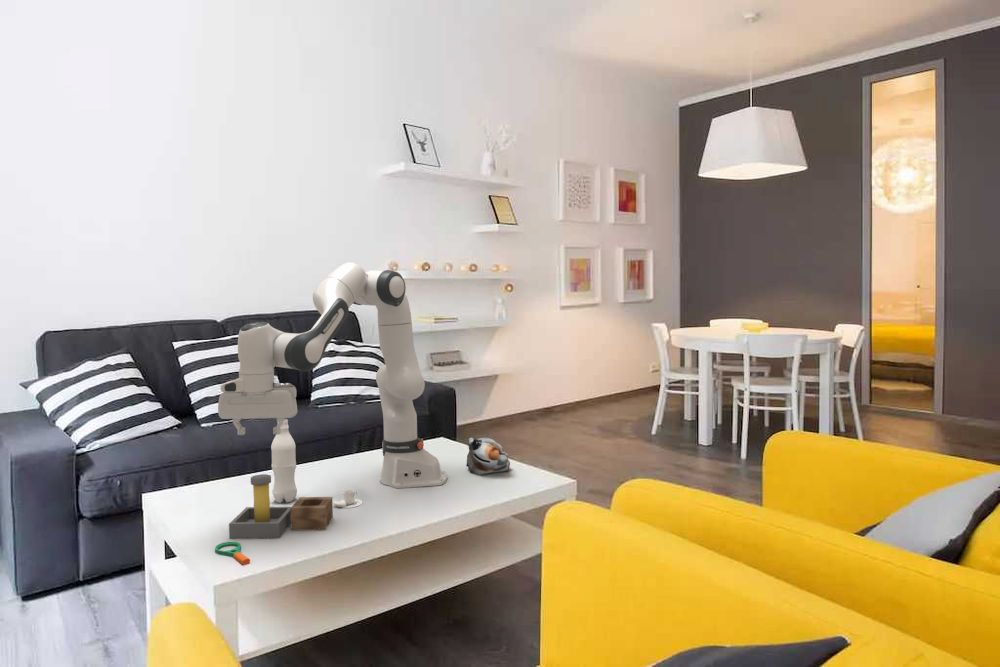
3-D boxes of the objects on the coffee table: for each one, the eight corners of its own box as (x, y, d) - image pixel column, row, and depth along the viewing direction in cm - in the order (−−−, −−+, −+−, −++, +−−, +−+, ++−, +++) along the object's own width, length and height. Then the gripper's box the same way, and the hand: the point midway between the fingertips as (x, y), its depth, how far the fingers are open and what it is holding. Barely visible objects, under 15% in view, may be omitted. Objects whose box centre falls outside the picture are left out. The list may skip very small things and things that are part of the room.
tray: (293, 520, 193) (292, 506, 193) (279, 538, 180) (278, 523, 180) (246, 521, 193) (246, 507, 193) (229, 538, 180) (228, 523, 180)
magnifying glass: (211, 550, 174) (211, 543, 173) (235, 544, 178) (235, 537, 177) (233, 569, 162) (233, 562, 162) (258, 562, 166) (258, 555, 166)
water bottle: (290, 495, 216) (287, 416, 214) (301, 500, 211) (299, 420, 208) (268, 500, 211) (265, 420, 209) (279, 506, 206) (276, 423, 203)
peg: (275, 522, 189) (273, 474, 188) (269, 529, 184) (267, 479, 183) (256, 522, 189) (254, 474, 188) (249, 529, 184) (247, 480, 183)
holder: (332, 517, 196) (332, 496, 195) (325, 529, 186) (324, 507, 186) (300, 517, 195) (299, 497, 195) (291, 529, 186) (290, 508, 186)
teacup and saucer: (335, 511, 202) (335, 497, 202) (330, 503, 209) (330, 489, 209) (365, 507, 205) (364, 493, 205) (359, 499, 213) (359, 486, 212)
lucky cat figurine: (517, 467, 244) (520, 435, 236) (497, 491, 235) (499, 458, 226) (478, 449, 251) (479, 417, 243) (457, 471, 242) (457, 438, 233)
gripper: (299, 380, 187) (301, 431, 188) (223, 382, 186) (226, 432, 187) (292, 384, 180) (294, 436, 181) (214, 385, 180) (216, 437, 181)
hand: (259, 434), depth 184 cm, fingers open, 8 cm apart
